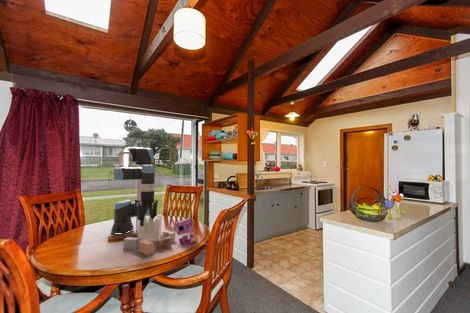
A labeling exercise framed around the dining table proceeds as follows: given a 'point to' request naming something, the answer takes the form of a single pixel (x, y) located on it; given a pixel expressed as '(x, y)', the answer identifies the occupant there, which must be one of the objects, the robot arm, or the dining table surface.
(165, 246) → the walnut brick
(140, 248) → the terracotta brick
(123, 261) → the dining table surface
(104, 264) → the dining table surface
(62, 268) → the dining table surface
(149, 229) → the sage brick
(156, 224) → the castle model
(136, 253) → the felt mat
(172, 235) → the maple brick
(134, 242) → the grey brick
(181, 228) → the toy
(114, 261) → the dining table surface
